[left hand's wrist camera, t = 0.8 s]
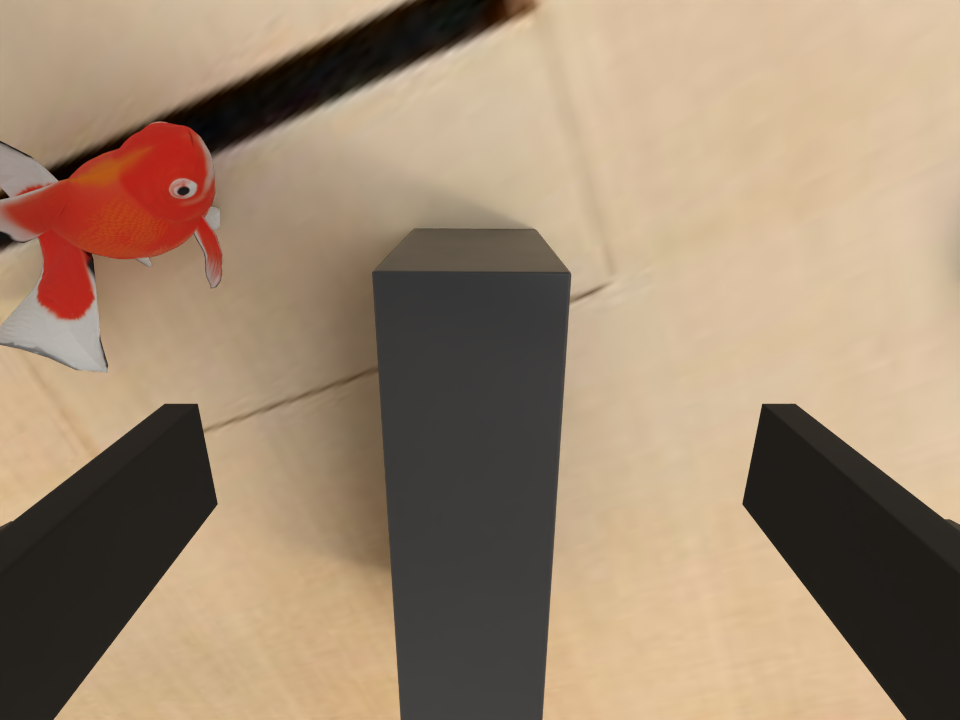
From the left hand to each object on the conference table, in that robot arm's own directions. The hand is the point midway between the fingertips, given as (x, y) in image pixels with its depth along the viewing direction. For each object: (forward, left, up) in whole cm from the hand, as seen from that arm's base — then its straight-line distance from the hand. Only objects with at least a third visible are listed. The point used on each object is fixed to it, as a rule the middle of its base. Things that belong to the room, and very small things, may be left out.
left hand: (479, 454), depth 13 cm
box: (+8, +2, -17) cm, 19 cm away
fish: (+2, -18, -17) cm, 25 cm away
